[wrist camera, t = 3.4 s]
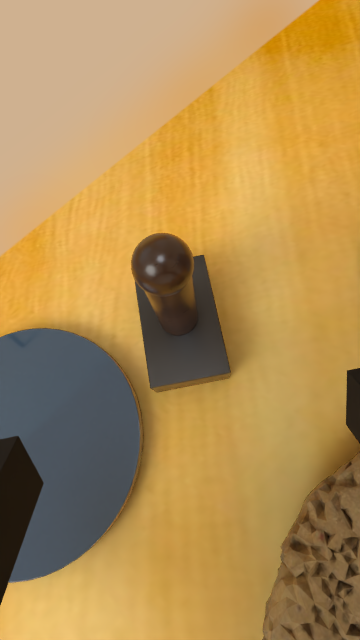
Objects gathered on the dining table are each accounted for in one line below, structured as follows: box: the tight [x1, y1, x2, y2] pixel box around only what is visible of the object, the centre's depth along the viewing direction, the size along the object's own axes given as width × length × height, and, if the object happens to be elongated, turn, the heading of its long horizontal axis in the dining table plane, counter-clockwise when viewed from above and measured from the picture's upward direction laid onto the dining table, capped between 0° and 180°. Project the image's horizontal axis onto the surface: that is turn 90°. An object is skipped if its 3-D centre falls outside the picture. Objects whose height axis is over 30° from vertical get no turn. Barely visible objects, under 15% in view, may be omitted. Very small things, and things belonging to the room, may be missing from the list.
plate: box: [0, 328, 143, 583], centre depth 26 cm, size 18×18×1 cm
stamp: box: [131, 233, 231, 392], centre depth 23 cm, size 10×6×13 cm, turn 10°
